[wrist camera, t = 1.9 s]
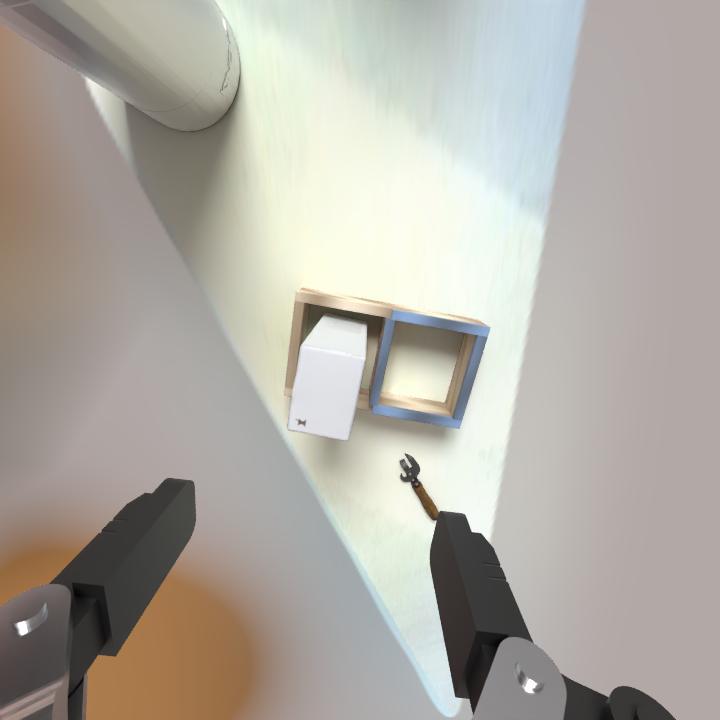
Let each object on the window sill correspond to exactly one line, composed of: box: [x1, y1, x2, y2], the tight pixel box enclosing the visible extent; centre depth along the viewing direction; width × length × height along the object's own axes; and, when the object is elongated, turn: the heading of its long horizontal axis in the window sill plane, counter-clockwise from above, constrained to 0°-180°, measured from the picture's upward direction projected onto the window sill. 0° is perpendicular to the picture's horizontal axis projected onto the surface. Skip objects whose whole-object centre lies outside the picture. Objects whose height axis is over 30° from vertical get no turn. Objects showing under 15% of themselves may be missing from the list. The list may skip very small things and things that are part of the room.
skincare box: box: [287, 313, 367, 441], centre depth 26 cm, size 6×4×12 cm
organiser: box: [284, 288, 490, 429], centre depth 30 cm, size 16×10×4 cm, turn 80°
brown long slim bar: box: [400, 454, 439, 520], centre depth 36 cm, size 9×2×1 cm, turn 23°
